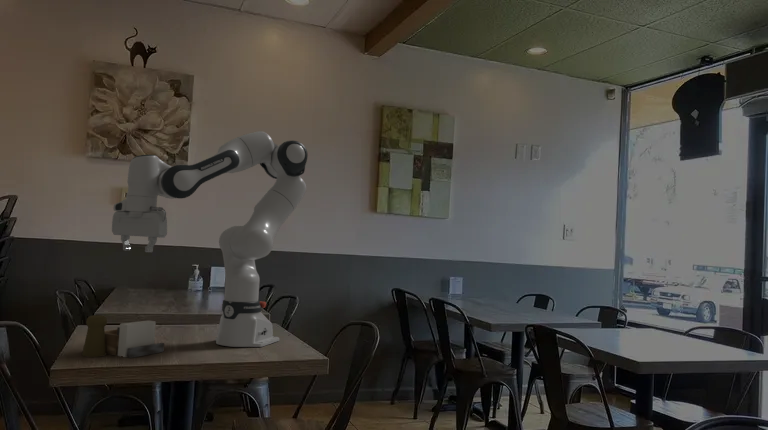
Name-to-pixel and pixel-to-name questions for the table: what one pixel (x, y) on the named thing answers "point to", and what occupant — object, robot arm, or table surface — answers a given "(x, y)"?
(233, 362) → the table surface
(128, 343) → the white rectangular block
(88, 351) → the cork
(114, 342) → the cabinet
